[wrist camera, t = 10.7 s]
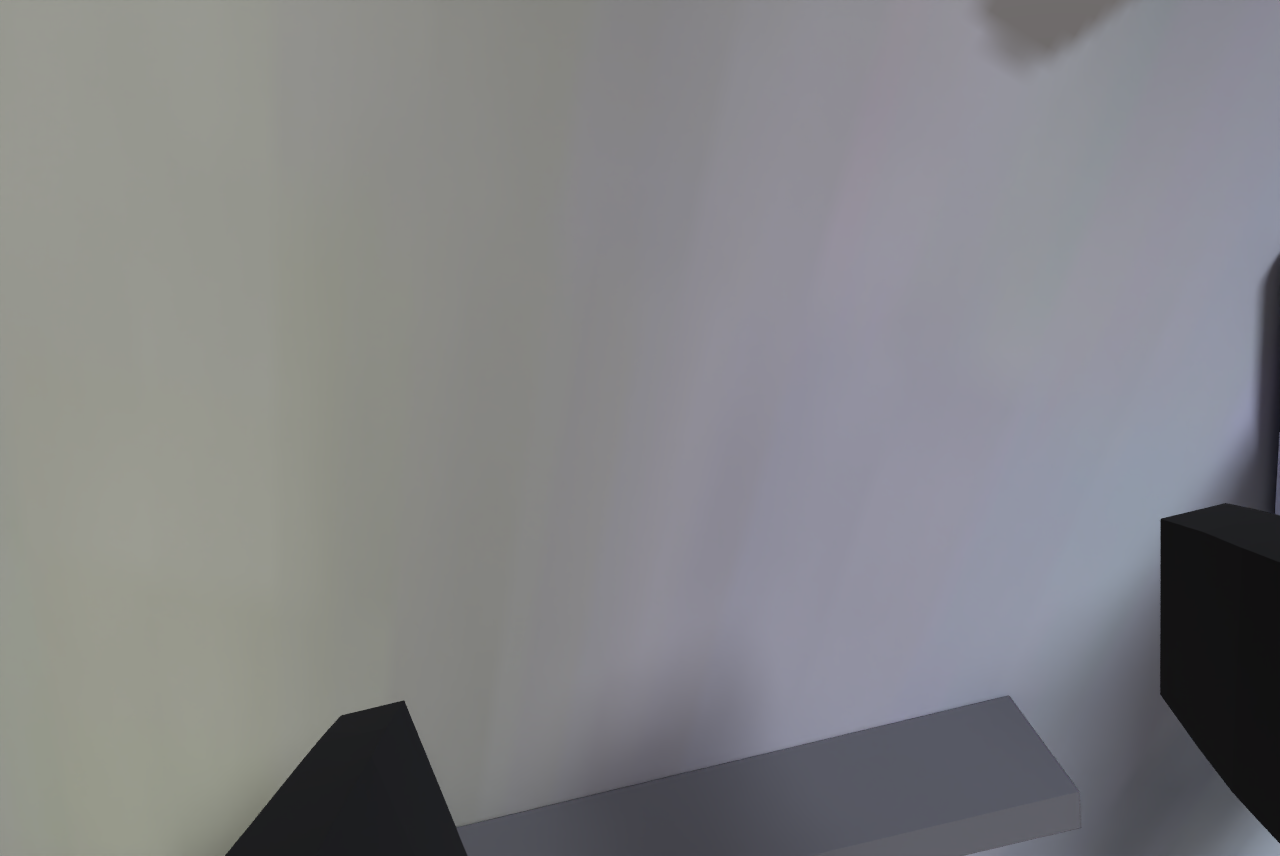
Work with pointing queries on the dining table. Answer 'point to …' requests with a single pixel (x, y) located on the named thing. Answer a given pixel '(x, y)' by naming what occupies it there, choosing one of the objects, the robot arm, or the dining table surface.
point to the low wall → (824, 799)
